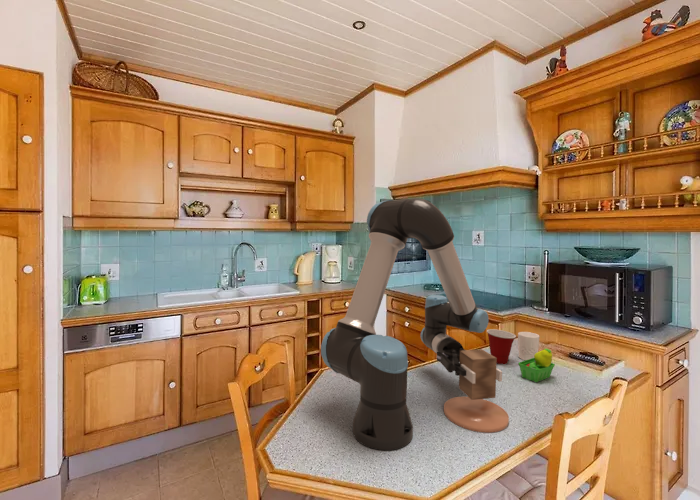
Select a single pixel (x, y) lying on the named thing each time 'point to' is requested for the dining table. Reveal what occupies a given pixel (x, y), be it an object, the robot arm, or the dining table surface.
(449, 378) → the dining table surface
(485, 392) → the walnut block
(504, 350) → the plastic cup
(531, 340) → the white cup
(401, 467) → the dining table surface
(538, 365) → the fruit basket
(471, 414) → the dish
